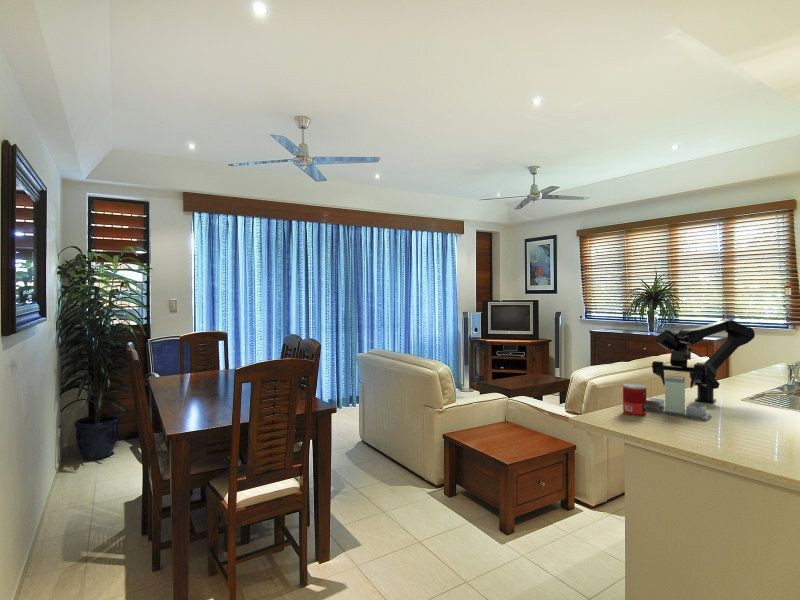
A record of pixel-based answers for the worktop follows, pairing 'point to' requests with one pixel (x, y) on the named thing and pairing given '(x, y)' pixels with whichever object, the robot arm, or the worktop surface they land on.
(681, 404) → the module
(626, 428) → the worktop surface
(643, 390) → the canned food
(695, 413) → the rail
